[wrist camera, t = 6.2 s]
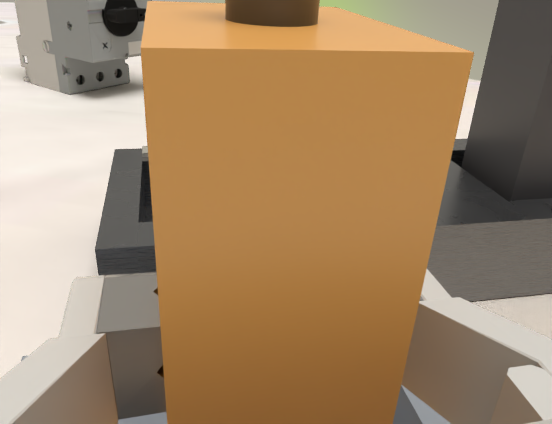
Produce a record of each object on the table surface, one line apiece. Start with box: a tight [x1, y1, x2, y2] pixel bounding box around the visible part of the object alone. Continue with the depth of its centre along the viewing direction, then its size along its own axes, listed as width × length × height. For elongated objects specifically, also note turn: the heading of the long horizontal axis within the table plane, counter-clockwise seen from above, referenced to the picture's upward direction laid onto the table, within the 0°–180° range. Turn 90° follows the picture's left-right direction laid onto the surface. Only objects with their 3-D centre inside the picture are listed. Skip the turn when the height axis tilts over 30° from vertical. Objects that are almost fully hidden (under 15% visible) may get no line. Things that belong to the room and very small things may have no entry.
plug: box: [141, 0, 474, 424], centre depth 9 cm, size 3×4×14 cm
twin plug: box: [461, 0, 552, 201], centre depth 24 cm, size 3×4×14 cm
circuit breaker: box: [14, 0, 152, 95], centre depth 50 cm, size 8×14×15 cm, turn 54°
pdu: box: [95, 139, 552, 302], centre depth 25 cm, size 24×10×4 cm, turn 102°
